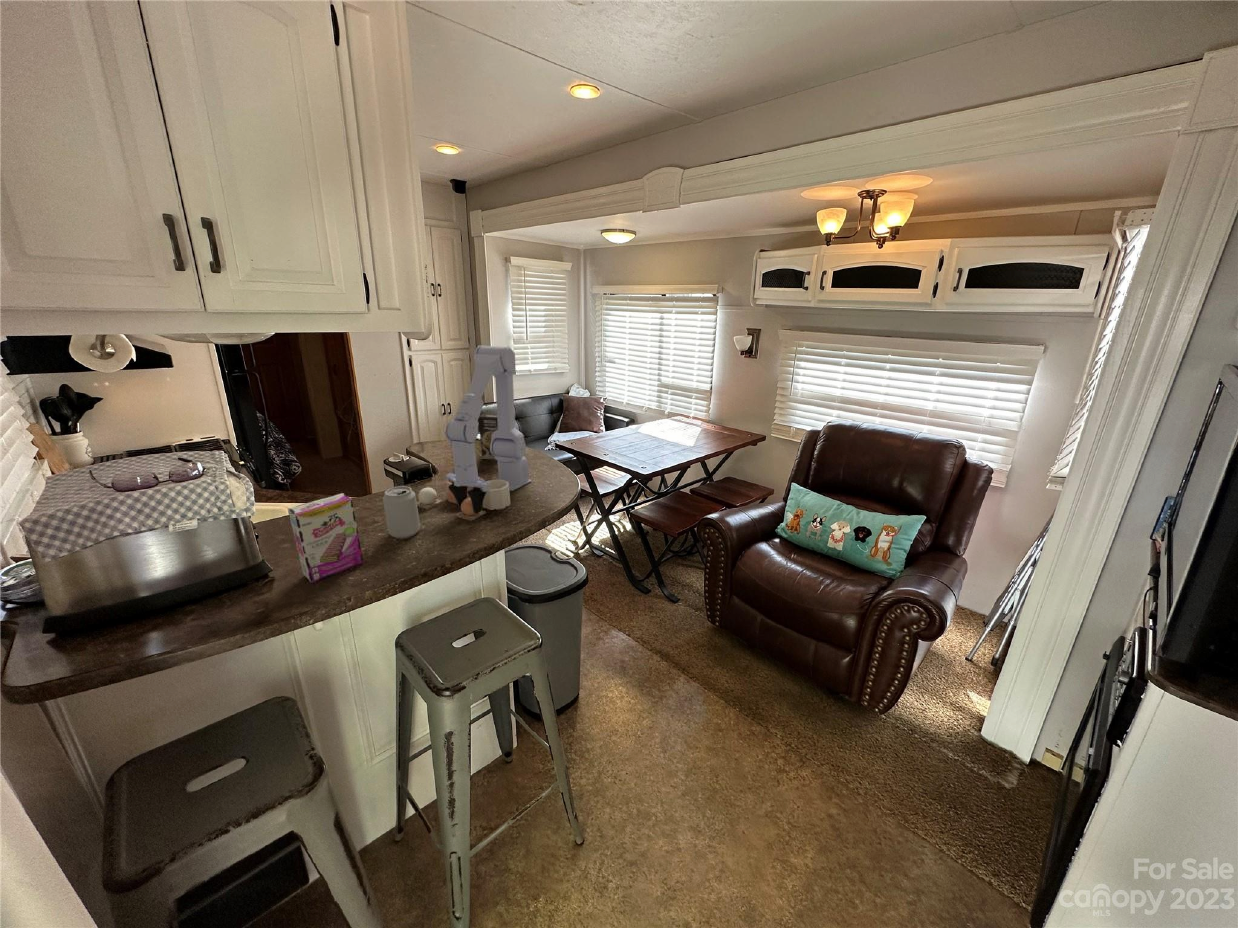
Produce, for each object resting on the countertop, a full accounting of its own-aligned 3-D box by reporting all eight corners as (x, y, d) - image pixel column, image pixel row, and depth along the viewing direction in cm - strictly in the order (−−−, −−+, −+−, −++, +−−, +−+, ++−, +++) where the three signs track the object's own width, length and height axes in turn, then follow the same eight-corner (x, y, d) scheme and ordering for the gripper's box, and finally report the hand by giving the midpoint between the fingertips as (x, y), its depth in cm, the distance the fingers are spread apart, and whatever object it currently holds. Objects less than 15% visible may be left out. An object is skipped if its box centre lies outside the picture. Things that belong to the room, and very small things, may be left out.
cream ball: (429, 499, 143) (427, 483, 141) (441, 502, 140) (439, 487, 139) (415, 505, 138) (413, 489, 137) (427, 509, 136) (425, 493, 134)
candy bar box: (312, 584, 101) (294, 515, 96) (303, 576, 104) (285, 508, 99) (365, 562, 110) (352, 497, 104) (356, 555, 113) (342, 491, 107)
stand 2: (471, 509, 136) (471, 507, 136) (485, 513, 134) (485, 511, 134) (456, 516, 132) (456, 514, 132) (471, 520, 129) (470, 518, 129)
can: (409, 541, 119) (402, 497, 115) (382, 538, 120) (374, 494, 116) (426, 527, 126) (420, 485, 122) (401, 524, 127) (394, 483, 123)
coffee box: (481, 459, 176) (477, 416, 171) (488, 453, 182) (484, 412, 176) (504, 460, 175) (501, 417, 169) (511, 454, 181) (508, 413, 175)
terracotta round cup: (462, 490, 149) (460, 472, 146) (481, 495, 145) (479, 477, 143) (442, 499, 142) (440, 481, 140) (461, 505, 139) (459, 486, 137)
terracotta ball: (471, 509, 136) (469, 493, 134) (484, 513, 134) (482, 497, 132) (457, 516, 132) (455, 499, 130) (471, 520, 130) (469, 503, 128)
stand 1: (430, 498, 143) (429, 496, 143) (442, 502, 140) (442, 500, 140) (414, 505, 138) (414, 503, 138) (427, 509, 136) (427, 507, 136)
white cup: (496, 496, 145) (494, 477, 143) (515, 501, 141) (514, 483, 139) (477, 505, 138) (475, 486, 136) (497, 511, 135) (495, 492, 133)
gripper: (434, 463, 128) (440, 509, 132) (474, 473, 121) (479, 521, 126) (455, 455, 133) (460, 500, 138) (493, 464, 127) (498, 511, 131)
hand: (470, 509), depth 132 cm, fingers closed on terracotta ball, 5 cm apart
